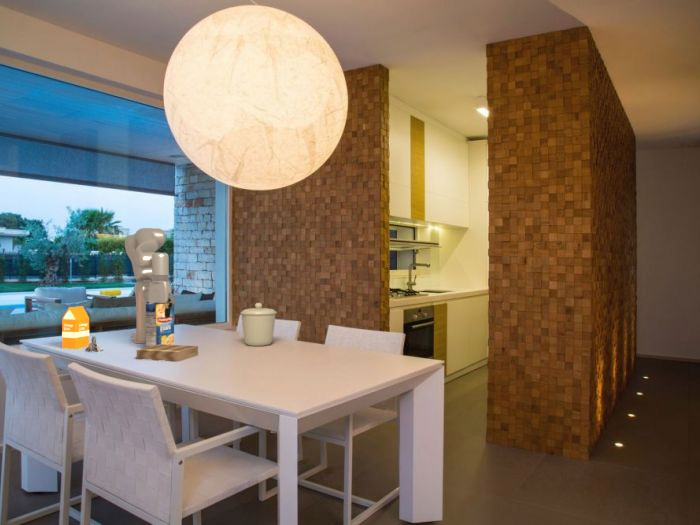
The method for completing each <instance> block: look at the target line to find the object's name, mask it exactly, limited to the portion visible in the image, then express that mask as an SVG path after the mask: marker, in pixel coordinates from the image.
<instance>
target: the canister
mask: <svg viewBox="0 0 700 525" xmlns="http://www.w3.org/2000/svg"><path fill="white" fill-rule="evenodd" d="M254 307H255V308H253V307H252V308H251V307H250V308H246V309H242V311H240V315H241V322H242V333H243V338H244V343H245V344H246V345H248V346H250V347H265V346H269V345H271V343H272V342H273V338H274V330H275V320H276V314H277V311H276V310H275V309H273V308H267V307H263V304H262V303H261V302H257V303H255V305H254Z"/></svg>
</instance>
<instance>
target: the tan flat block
mask: <svg viewBox="0 0 700 525" xmlns="http://www.w3.org/2000/svg"><path fill="white" fill-rule="evenodd" d="M196 356H199V346H198V345H197V346H196V345H183V344H182V345H179V344H174V345H164V344H158V345H154V346H150V347H146V346H145V347H143V348H137V349H136V360H142V359H152V360H151V361H159V360H165V361H164V362H175V361H178V362H181V361H184V360H187V358H188V359H190V358H194V357H196Z"/></svg>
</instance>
